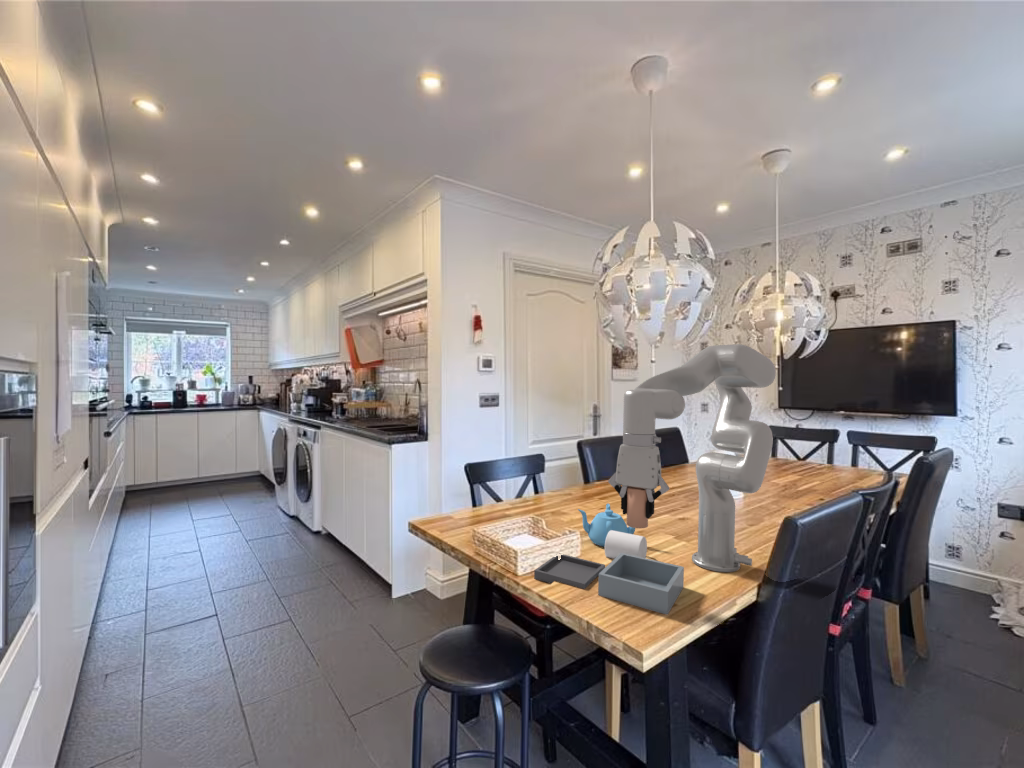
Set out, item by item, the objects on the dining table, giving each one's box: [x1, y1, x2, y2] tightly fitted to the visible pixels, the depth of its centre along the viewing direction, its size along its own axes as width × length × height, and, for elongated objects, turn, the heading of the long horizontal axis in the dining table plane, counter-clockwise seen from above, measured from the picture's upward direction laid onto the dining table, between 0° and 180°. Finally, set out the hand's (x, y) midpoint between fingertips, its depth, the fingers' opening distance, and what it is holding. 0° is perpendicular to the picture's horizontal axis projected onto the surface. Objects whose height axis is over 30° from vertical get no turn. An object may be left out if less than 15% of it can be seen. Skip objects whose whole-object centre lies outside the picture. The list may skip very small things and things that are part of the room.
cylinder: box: [626, 487, 649, 529], centre depth 110 cm, size 5×5×9 cm
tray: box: [533, 554, 606, 590], centre depth 120 cm, size 14×14×2 cm
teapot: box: [577, 503, 636, 548], centre depth 146 cm, size 15×15×10 cm
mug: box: [604, 530, 648, 560], centre depth 132 cm, size 12×10×8 cm
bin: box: [597, 553, 685, 615], centre depth 110 cm, size 16×16×6 cm
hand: (637, 514), depth 111 cm, fingers closed on cylinder, 5 cm apart
